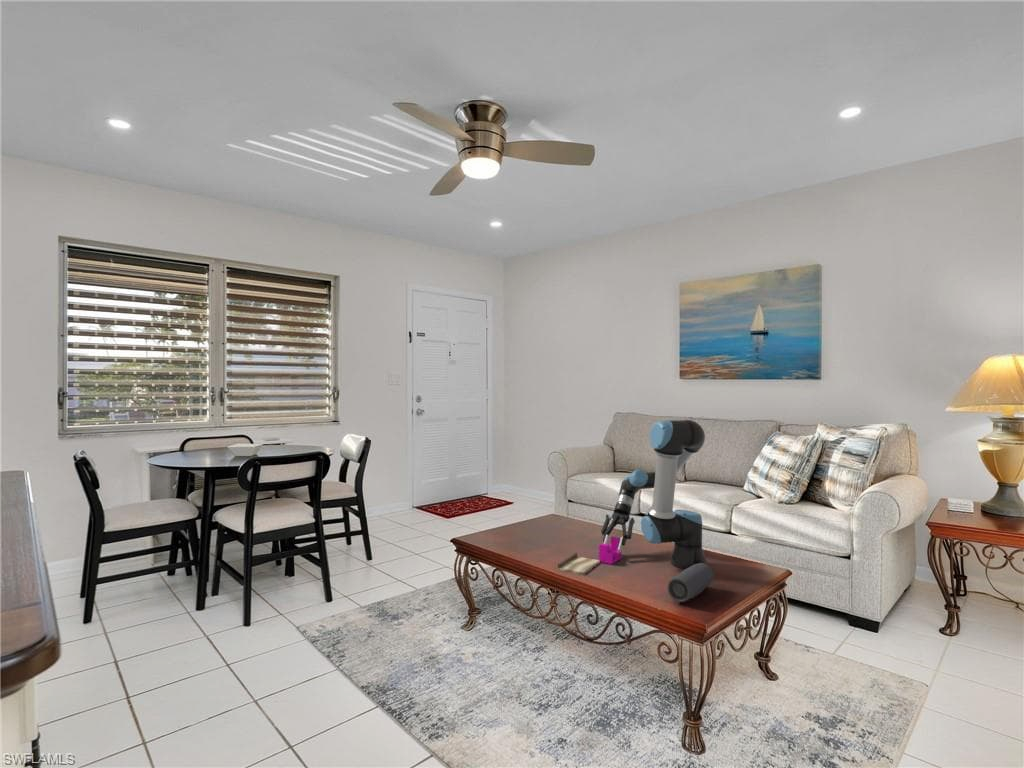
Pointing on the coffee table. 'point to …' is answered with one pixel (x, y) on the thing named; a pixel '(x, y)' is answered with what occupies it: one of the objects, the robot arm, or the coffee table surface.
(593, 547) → the coffee table surface
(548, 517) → the coffee table surface
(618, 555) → the toy block
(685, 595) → the bluetooth speaker
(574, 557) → the board
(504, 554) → the coffee table surface
